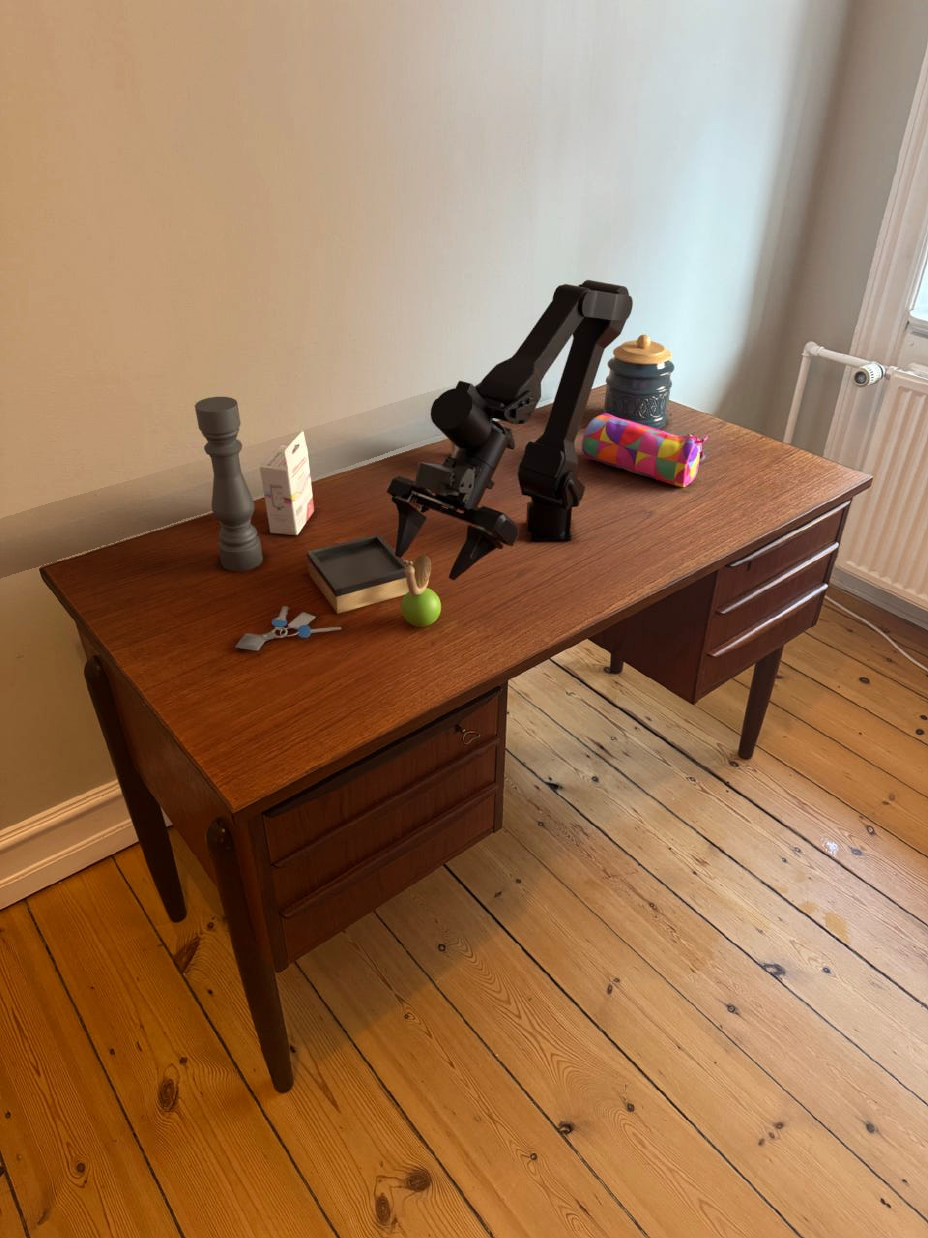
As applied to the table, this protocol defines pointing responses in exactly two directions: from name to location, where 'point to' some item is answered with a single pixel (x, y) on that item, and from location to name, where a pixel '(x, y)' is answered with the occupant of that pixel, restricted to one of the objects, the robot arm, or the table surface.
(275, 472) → the ink cartridge box
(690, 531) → the table surface
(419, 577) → the green two-tone figurine
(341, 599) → the square tray
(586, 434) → the pencil case
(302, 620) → the key chain
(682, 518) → the table surface
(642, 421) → the canister
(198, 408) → the candle holder
